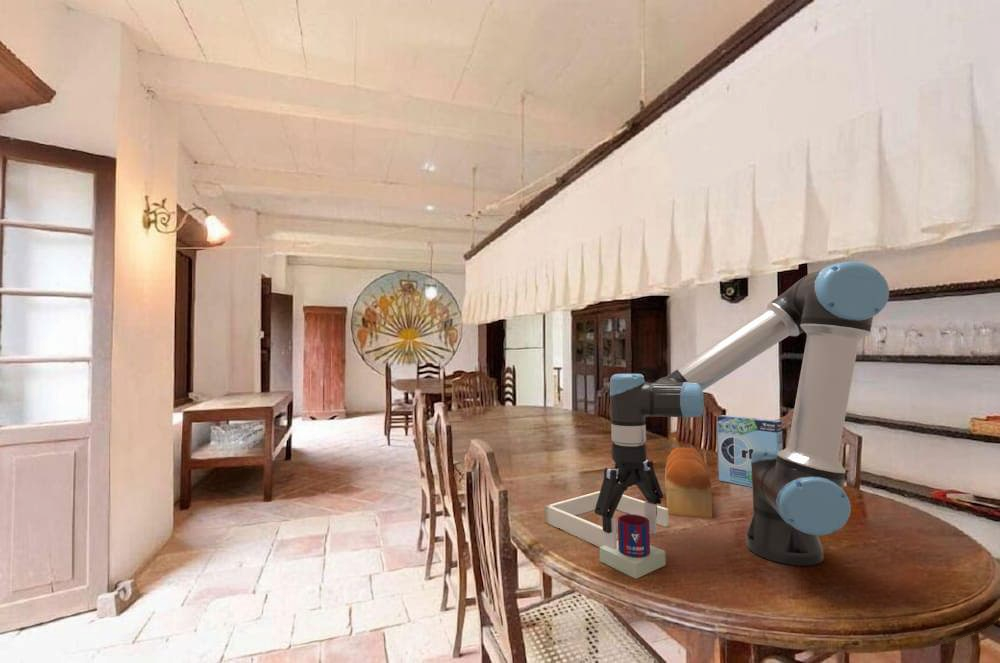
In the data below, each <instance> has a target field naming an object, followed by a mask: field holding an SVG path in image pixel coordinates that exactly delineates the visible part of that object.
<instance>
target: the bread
mask: <svg viewBox="0 0 1000 663" xmlns="http://www.w3.org/2000/svg"><path fill="white" fill-rule="evenodd" d="M664 471H665V472H664V473H665V474H664V475H665V477H664V480H665V481H664V489H665V492H666V493H665V494H666V495H665V497H666V498H665V499H666V508H667V509H668V512H669V515H677V516H685V517H697V518H706V519H713V504H712V503H713V501H712V500H713V499H712V498H713V497H712V493H713V488H712V485H711V480H710V477H709V474H708V470H707V466H706V464H705V460H704V458H703V457H702V455H701V454H700V453H699V451H697V450H696V449H695V448H693V447H682V446H681V447H679V446H678V447H677V446H676V448H673V450H671V451H670V452H669V454H668V456H666V462H665V470H664Z"/></svg>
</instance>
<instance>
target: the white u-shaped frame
mask: <svg viewBox="0 0 1000 663" xmlns="http://www.w3.org/2000/svg"><path fill="white" fill-rule="evenodd" d="M599 494H600V490H598V491H595V492H592V493H588V494H584V495H580V496H576V497H573V498H570V499H566V500H561V501H558V502H554V503H551V504H548V505H547V504H546V505H545V506H544V508H545V509H544V510H545V511H544V513H545V523H546V524H549V525H550V524H551V526H553V527H555V528H558V529H559V528H560V530H561V529H562V531H563V530H564V531H563V532H566V533H568V534H570V535H572V536H575V537H576V536H577V538H579V539H581V540H583V541H585V542H588V543H589V544H592V545H594V546H597V547H598V548H599V547H602V546H605V540H604V531H603V526H602V525H599V524H596V523H594V522H592V521H589V520H587V519H584V518H581V517H579V516H577V515H581V514H584V513H588V512H591V511H595V508H596V504H597V501H598V497H599ZM644 502H645V501H644V500H642V499H639V498H635V497H631V496H629V495H625V494H623V495H622V497H621V499H620V502H619V504H618V506H617V508H616V510H617V511H620V512H623V513H625V514H626V513H630V514H634V515H640V516H643V517H645V512H644ZM656 519H657V525H660V526H662V527H665V528H666V527H669V526H670V514H669V512H668V509H667V507H663V506H660V505H659V504H657V516H656Z"/></svg>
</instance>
